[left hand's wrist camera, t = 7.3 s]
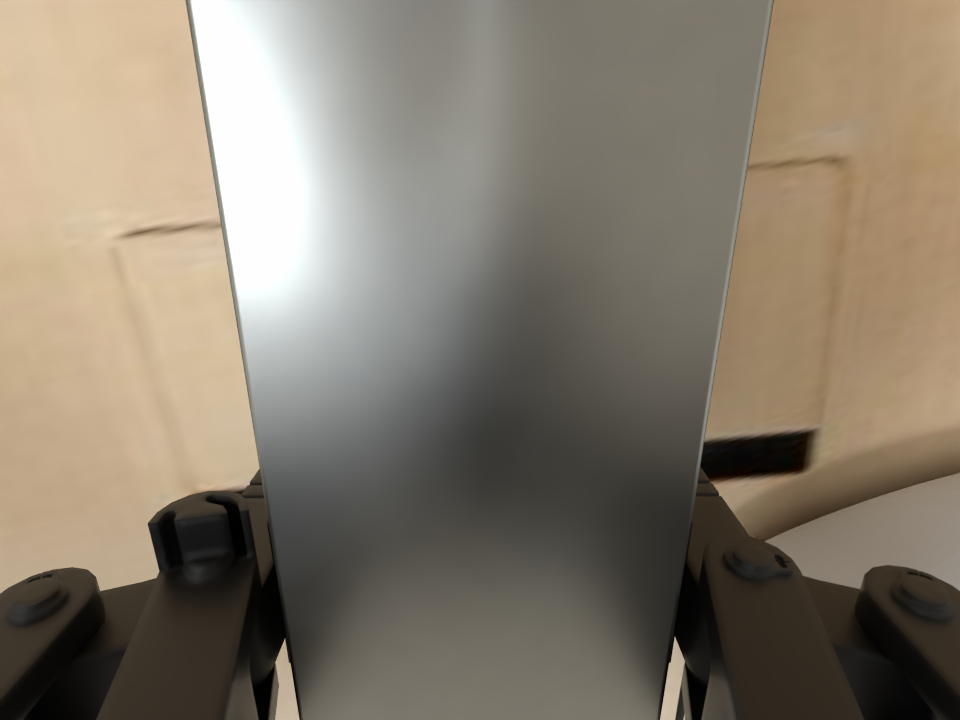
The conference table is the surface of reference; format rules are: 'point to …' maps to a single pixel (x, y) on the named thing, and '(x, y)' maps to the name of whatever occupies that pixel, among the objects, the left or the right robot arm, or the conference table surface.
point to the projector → (883, 536)
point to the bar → (479, 331)
